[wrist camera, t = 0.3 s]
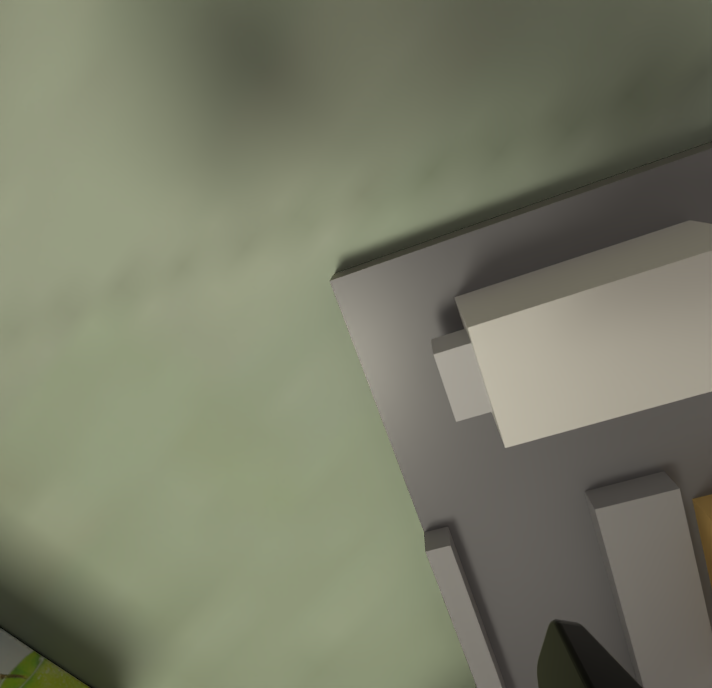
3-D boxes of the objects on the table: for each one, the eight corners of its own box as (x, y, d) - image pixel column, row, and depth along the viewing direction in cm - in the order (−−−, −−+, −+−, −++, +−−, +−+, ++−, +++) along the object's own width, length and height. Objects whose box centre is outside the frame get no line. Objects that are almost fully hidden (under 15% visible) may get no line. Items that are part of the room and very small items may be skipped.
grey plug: (710, 330, 19) (787, 370, 15) (454, 405, 21) (466, 458, 17) (689, 220, 18) (766, 232, 14) (421, 307, 20) (427, 340, 16)
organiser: (854, 644, 24) (907, 700, 22) (498, 712, 27) (508, 769, 24) (780, 117, 18) (843, 108, 16) (334, 273, 21) (325, 287, 18)
